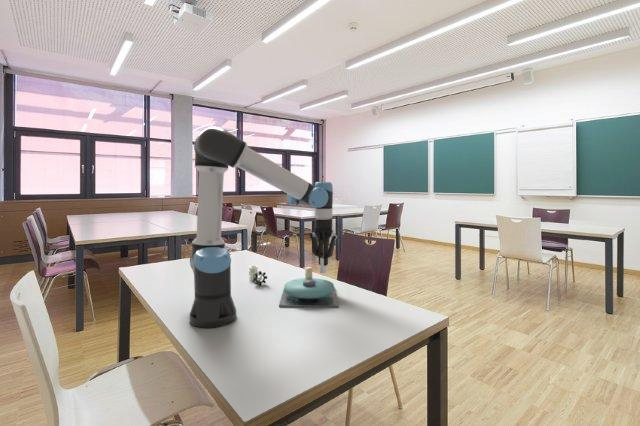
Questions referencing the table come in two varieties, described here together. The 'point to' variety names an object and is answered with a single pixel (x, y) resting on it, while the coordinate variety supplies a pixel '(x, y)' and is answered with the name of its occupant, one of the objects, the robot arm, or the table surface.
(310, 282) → the handwheel
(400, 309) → the table surface
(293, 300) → the wheel stand
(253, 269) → the valve
